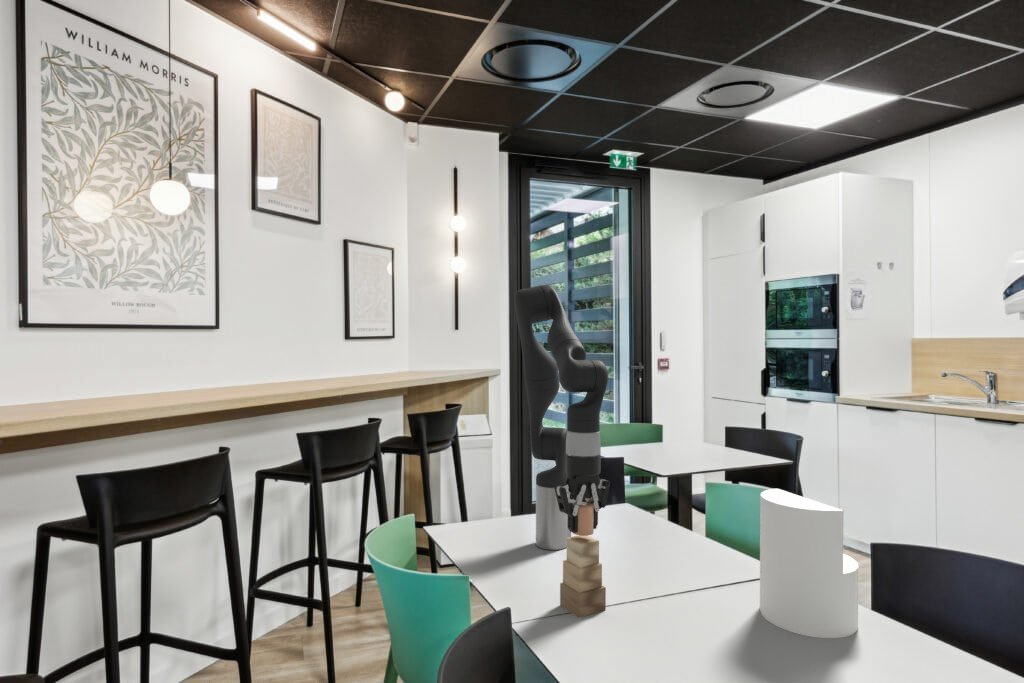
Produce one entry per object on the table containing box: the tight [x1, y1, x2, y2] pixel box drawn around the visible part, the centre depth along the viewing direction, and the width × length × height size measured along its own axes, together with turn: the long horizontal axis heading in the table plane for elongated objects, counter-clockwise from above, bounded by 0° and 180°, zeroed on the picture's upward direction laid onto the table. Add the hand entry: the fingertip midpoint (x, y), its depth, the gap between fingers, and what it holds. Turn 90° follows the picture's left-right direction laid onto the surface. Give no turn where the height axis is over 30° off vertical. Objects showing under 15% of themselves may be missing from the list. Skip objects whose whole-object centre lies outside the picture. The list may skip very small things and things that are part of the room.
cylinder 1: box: [571, 501, 595, 536], centre depth 135 cm, size 5×5×6 cm
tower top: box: [566, 535, 600, 568], centre depth 135 cm, size 5×5×5 cm
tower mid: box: [562, 559, 603, 593], centre depth 135 cm, size 6×6×5 cm
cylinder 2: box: [759, 488, 859, 639], centre depth 131 cm, size 19×19×25 cm
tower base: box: [559, 581, 607, 619], centre depth 135 cm, size 7×7×5 cm
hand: (582, 529), depth 135 cm, fingers closed on cylinder 1, 4 cm apart
